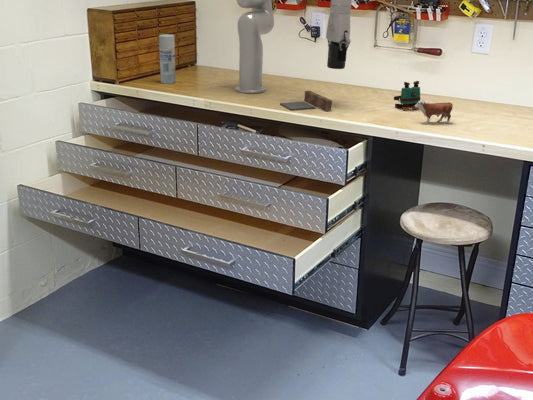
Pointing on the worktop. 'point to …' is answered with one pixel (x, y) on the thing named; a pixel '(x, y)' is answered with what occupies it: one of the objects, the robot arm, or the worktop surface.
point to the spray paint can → (167, 58)
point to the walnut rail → (318, 100)
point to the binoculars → (409, 96)
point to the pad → (297, 106)
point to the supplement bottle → (334, 57)
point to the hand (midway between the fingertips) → (336, 58)
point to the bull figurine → (435, 110)
